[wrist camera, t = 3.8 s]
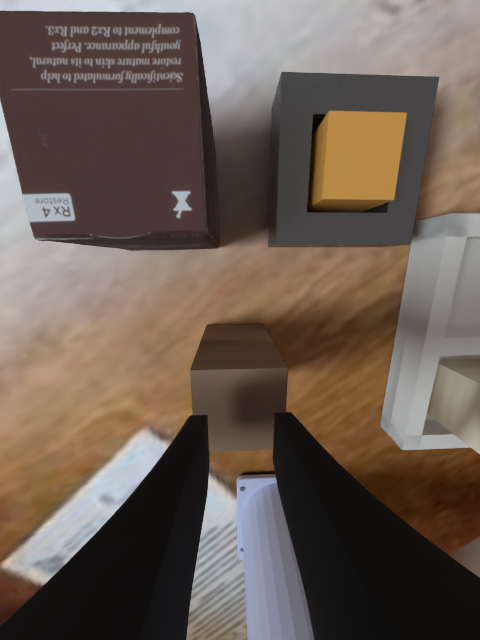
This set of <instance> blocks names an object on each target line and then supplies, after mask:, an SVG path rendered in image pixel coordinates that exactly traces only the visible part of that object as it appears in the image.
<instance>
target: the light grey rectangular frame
mask: <svg viewBox="0 0 480 640" xmlns="http://www.w3.org/2000/svg"><path fill="white" fill-rule="evenodd" d="M470 359H480V213H450V214H446V215H442V216H437V217H433V218H428V219H424V220H419V221H415V225H414V231H413V237H412V242H411V248H410V254H409V260H408V266H407V271H406V277H405V283H404V289H403V295H402V300H401V306H400V312H399V318H398V324H397V330H396V335H395V341H394V347H393V353H392V359H391V364H390V370H389V376H388V382H387V388H386V394H385V399H384V405H383V411H382V417H381V423H380V426H381V427H382V429H383V430H384V431H385V432H386V433H387V434H388V435H389V436H390V437H391V438H392V439H393V440H394V442H395V443H396V444H397V445H398V446H399V447H400V448H401V449H402V450H419V449H444V448H470V446H468V445H467V444H466V443H464V442H463V441H462V440H461V439H459V438H458V437H457V436H455V435H454V434H453V433H451V432H450V431H449V430H447V429H446V428H445V427H444V426H442V425H441V424H440V423H438V422H437V421H436V420H434V419H433V418H432V417H430V416H429V415H428V414H427V411H428V406H429V402H430V397H431V393H432V389H433V384H434V380H435V375H436V371H437V367H438V362H439V360H470Z"/></svg>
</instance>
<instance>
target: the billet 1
mask: <svg viewBox="0 0 480 640" xmlns="http://www.w3.org/2000/svg"><path fill="white" fill-rule="evenodd" d="M190 377H191V393H192V409H193V415H207V416H208V438H209V452H214V451H240V450H266V449H273V440H274V414H275V413H285V412H286V397H287V378H288V367H287V365H286V364H285V362H284V360H283V358H282V356H281V355H280V353H279V351H278V349H277V347H276V346H275V344H274V342H273V340H272V338H271V337H270V335H269V333H268V331H267V329H266V328H265V326H264V324H226V325H207V326H206V329H205V331H204V334H203V337H202V339H201V342H200V345H199V348H198V350H197V353H196V356H195V358H194V361H193V364H192V367H191V369H190Z"/></svg>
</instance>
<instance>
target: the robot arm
mask: <svg viewBox="0 0 480 640" xmlns="http://www.w3.org/2000/svg"><path fill="white" fill-rule="evenodd" d="M273 463H274V469H275V474H263V475H242V476H239V477H238V478H237V555H238V559H239V560H240V561H244V571H245V592H246V613H247V634H248V640H480V578H479V577H478V576H476V575H475V574H473V573H472V572H470V571H469V570H468V569H466V568H465V567H464V566H462V565H461V564H460V563H458V562H457V561H456V560H454V559H453V558H451V557H450V556H449V555H448V554H446V553H445V552H444V551H442V550H441V549H440V548H438V547H437V546H436V545H434V544H433V543H432V542H430V541H429V540H428V539H426V538H425V537H424V536H422V535H421V534H420V533H418V532H417V531H416V530H415V529H413V528H412V527H411V526H409V525H408V524H407V523H406V522H404V521H403V520H402V519H401V518H400V517H398V516H397V515H396V514H395V513H394V512H392V511H391V510H390V509H389V508H388V507H386V506H385V505H384V504H383V503H382V502H380V501H379V500H378V499H377V498H376V497H374V496H373V495H372V494H371V493H370V492H369V491H368V490H366V489H365V488H364V487H363V486H362V485H361V484H360V483H359V482H358V481H357V480H356V479H354V478H353V477H352V476H351V475H350V474H349V473H348V472H347V471H346V470H345V469H344V468H343V467H342V466H341V465H340V464H339V463H338V462H337V461H336V460H335V459H334V458H333V457H332V456H331V455H330V454H329V453H328V452H327V451H326V450H325V449H324V448H323V447H322V446H321V445H320V444H319V443H318V442H317V440H316V439H315V438H314V437H313V436H312V435H311V434H310V433H309V432H308V431H307V429H306V428H305V427H304V426H303V425H302V424H301V423H300V422H299V420H298V419H297V418H296V417H295V416H294V415H293V414H292V413H291V412H285V413H275V414H274V440H273ZM208 476H209V438H208V416H207V415H191V416H190V417H189V418H188V419H187V420H186V422H185V423H184V425H183V427H182V428H181V430H180V431H179V433H178V434H177V436H176V437H175V439H174V440H173V441H172V443H171V444H170V446H169V447H168V448H167V450H166V451H165V453H164V454H163V455H162V457H161V458H160V459H159V461H158V462H157V463H156V465H155V466H154V467H153V469H152V470H151V471H150V472H149V473H148V475H147V476H146V477H145V478H144V480H143V481H142V482H141V483H140V484H139V486H138V487H137V488H136V489H135V491H134V492H133V493H132V494H131V495H130V496H129V498H128V499H127V500H126V501H125V502H124V503H123V505H122V506H121V507H120V508H119V509H118V510H117V511H116V512H115V513H114V515H113V516H112V517H111V518H110V519H109V520H108V521H107V522H106V523H105V524H104V525H103V526H102V527H101V529H100V530H99V531H98V532H97V533H96V534H95V535H94V536H93V537H92V538H91V539H90V540H89V541H88V542H87V543H86V544H85V545H84V546H83V547H82V548H81V549H80V550H79V551H78V552H77V553H76V554H75V555H74V556H73V557H72V558H71V559H70V560H69V561H68V562H67V563H66V564H65V565H64V566H63V567H62V568H61V569H60V570H59V571H58V572H57V573H56V574H55V575H54V576H53V577H52V578H51V579H50V580H49V581H48V582H47V583H46V584H45V585H43V586H42V587H41V588H40V589H39V590H38V591H37V592H36V593H35V594H34V595H33V596H32V597H31V598H29V599H28V600H27V601H26V602H25V603H24V604H23V605H22V606H21V607H20V608H19V609H17V610H16V611H15V612H14V613H13V614H12V615H11V616H10V617H9V618H8V619H6V620H5V621H4V622H3V623H2V624H1V625H0V640H186V636H187V626H188V616H189V606H190V599H191V591H192V584H193V578H194V571H195V565H196V559H197V553H198V547H199V541H200V535H201V529H202V523H203V516H204V510H205V504H206V498H207V489H208ZM242 486H244V487H242Z"/></svg>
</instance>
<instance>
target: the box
mask: <svg viewBox="0 0 480 640" xmlns="http://www.w3.org/2000/svg"><path fill="white" fill-rule="evenodd" d="M0 101H1V105H2V109H3V113H4V117H5V121H6V125H7V130H8V133H9V138H10V142H11V146H12V150H13V155H14V159H15V164H16V168H17V173H18V176H19V181H20V185H21V190H22V195H23V200H24V204H25V208H26V211H27V215H28V218H29V222H30V225H31V229H32V232H33V236H34V238H35V239H36V240H39V241H55V242H64V243H74V244H81V245H91V246H100V247H110V248H120V249H126V250H132V251H133V250H186V249H214V248H218V247H219V245H220V241H219V217H218V194H217V175H216V157H215V142H214V136H213V129H212V122H211V115H210V108H209V101H208V95H207V87H206V78H205V71H204V65H203V57H202V50H201V42H200V38H199V33H198V28H197V23H196V18H195V15H194V14H193V13H190V12H185V13H157V12H42V11H0Z"/></svg>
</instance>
